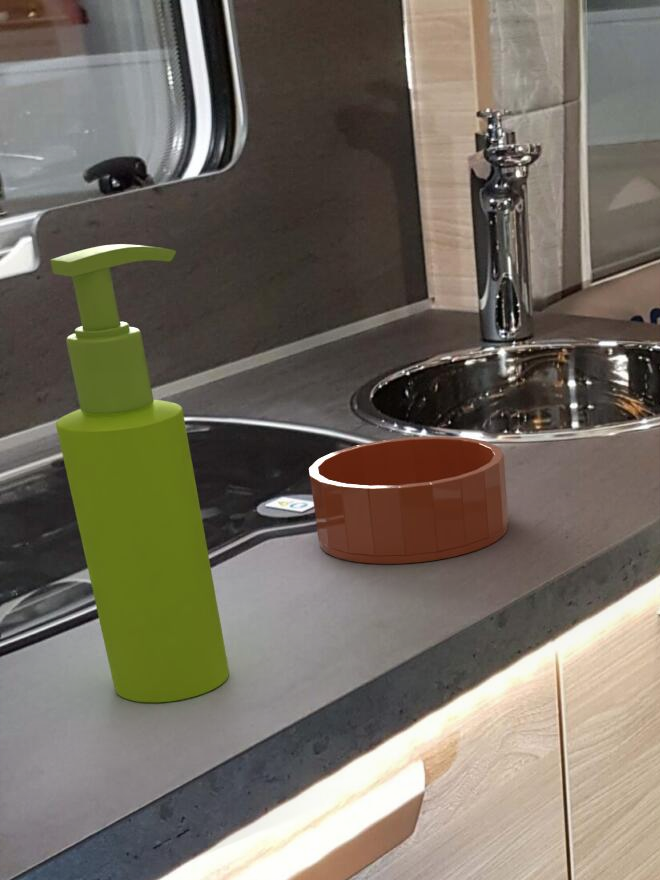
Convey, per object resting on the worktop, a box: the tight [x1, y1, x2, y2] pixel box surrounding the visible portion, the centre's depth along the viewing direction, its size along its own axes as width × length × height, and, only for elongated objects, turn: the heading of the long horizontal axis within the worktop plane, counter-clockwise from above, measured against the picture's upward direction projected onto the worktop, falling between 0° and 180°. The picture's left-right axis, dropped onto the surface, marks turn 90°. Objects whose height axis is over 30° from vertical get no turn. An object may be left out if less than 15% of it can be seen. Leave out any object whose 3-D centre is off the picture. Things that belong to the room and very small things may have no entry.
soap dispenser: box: [49, 243, 230, 704], centre depth 74 cm, size 6×7×20 cm
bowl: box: [308, 435, 509, 565], centre depth 97 cm, size 12×12×4 cm
